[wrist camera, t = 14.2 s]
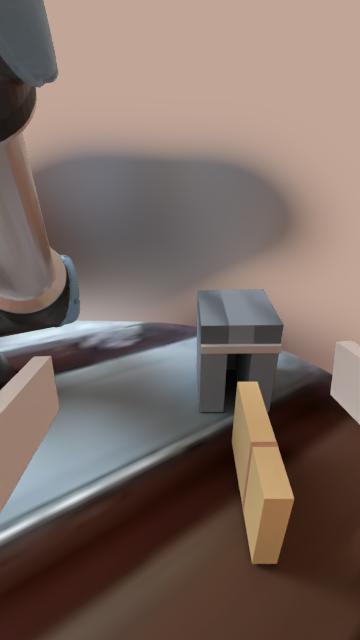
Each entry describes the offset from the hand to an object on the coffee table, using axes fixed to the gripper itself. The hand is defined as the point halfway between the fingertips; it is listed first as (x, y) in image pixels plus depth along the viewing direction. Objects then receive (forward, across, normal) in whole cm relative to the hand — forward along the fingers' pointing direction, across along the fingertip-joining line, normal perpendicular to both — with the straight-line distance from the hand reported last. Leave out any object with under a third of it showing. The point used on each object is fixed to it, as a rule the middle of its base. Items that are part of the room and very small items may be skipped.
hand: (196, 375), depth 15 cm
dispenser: (+36, +9, -21) cm, 43 cm away
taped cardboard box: (+17, +8, -25) cm, 31 cm away
